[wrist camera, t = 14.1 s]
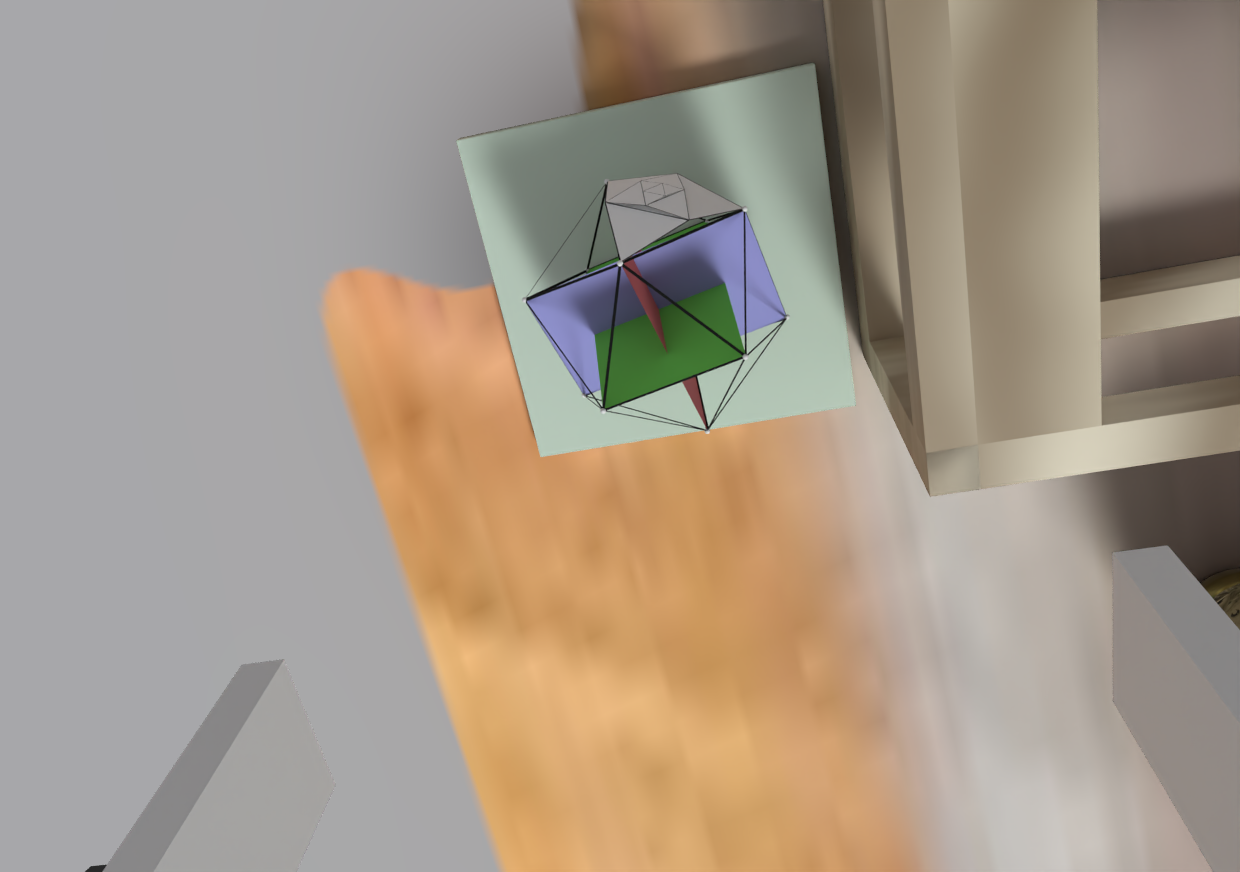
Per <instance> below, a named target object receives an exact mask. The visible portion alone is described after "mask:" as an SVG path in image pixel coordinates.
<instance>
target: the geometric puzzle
mask: <svg viewBox="0 0 1240 872" xmlns="http://www.w3.org/2000/svg"><path fill="white" fill-rule="evenodd" d="M604 183H605V185H604V186H605V189H604V193H603V198H602V202H601V207H600V211H599V216H598V220H597V224H596V229H595V233H594V238H593V242H592V247H591V251H590V256H589V260H588V265H587V268H586V269H585V270H584V271H582V272H580V273H578V274H576V275H574V276H572V277H570V278H567V279H565V280H563V281H561V282H559V283H557V284H555V285H553V286H550V287H548V288H546V289H544V290H542V291H540V292H538V293H536V294H533V295H531V296H529V297H523V298H522V301H523V302H524V303H526V304H527V306H528V307H529V309H530V310H531V312H532V314H533V315H534V317H535V318H536V320H537V322H538V323H539V325H540V326H541V328H542V330H543V331H544V333H545V334H546V336H547V337H548V339H549V341H550V342H551V344H552V345H553V347H554V349H555V350H556V352H557V353H558V355H559V357H560V358H561V360H562V361H563V363H564V365H565V366H566V368H567V369H568V371H569V372H570V374H571V376H572V377H573V379H574V380H575V382H576V384H577V385H578V387H579V388H580V390H581V392H582V397H583V398H585V397H586V398H587V397H589V396H588V395H590V394H591V395H592V396H593V397H589V398H592V399H595V400H596V402H597V403H598V405H599V406H600V407H601V408H600V407H599V406H598V405H596V404H595V403H594V402H593V401H591V400H590V399H589V398H587V399H589V400H590V401H591V402H592V403H594V404H595V405H596V406H598V407H599V408H600V409H601V410H600V412H601V413H602V414H604V413H606V412H611V413H616V414H622V413H617V412H612V411H607V410H609V409H612V408H615V407H617V406H621V405H622V404H625V403H628V402H630V401H633V400H636V399H638V398H641V397H644V396H646V395H649V394H651V393H654V392H657V391H659V390H662V389H665V388H667V387H670V386H673V385H675V384H678V383H680V382H682V383H683V385H684V387H685V388H686V390H687V392H688V394H689V396H690V398H691V400H692V402H693V404H694V406H695V408H696V410H697V411H698V413H699V415H700V417H701V419H702V421H703V423H704V425H705V428H706V429H702V428H699V427H695V426H692V425H688V424H685V423H681V422H678V421H674V420H671V419H667V418H663V417H660V416H656V415H653V414H649V413H646V412H642V411H639V410H635V409H632V408H628V407H625V406H621V407H624V408H628V409H631V410H635V411H638V412H642V413H645V414H649V415H652V416H656V417H659V418H663V419H666V420H670V421H673V422H677V423H680V424H684V425H687V426H684V425H679V424H673V423H668V422H663V421H658V420H653V419H648V418H643V417H637V416H632V415H627V414H622V415H627V416H632V417H637V418H642V419H648V420H653V421H658V422H663V423H668V424H673V425H679V426H684V427H689V426H691V427H689V428H694V429H699V430H705V433H706V434H708V433H710V430H709V429H710V427H711V426H712V424H713V423H714V422H715V420H716V419H717V417H718V416H719V414H720V413H721V412H722V410H723V409H724V407H725V406H726V404H727V403H728V402H729V400H730V399H731V397H732V396H733V395H734V393H735V392H736V390H737V389H738V387H739V386H740V385H741V383H742V382H743V380H744V379H745V377H746V376H747V375H748V373H749V372H750V370H751V369H752V368H753V366H754V365H755V363H756V362H757V360H758V359H759V358H760V356H761V355H762V353H763V352H764V351H765V349H766V348H767V346H768V345H769V343H770V342H771V341H772V339H773V338H774V336H775V335H776V333H777V332H778V331H779V329H780V328H781V326H782V325H783V324H784V322H785V321H786V319H787V320H788V319H789V318H790V316H789V315H788V314H786V313H785V310H784V308H783V305H782V303H781V300H780V298H779V295H778V292H777V290H776V287H775V285H774V282H773V280H772V277H771V274H770V272H769V269H768V267H767V264H766V262H765V259H764V257H763V254H762V251H761V249H760V246H759V244H758V241H757V239H756V236H755V233H754V231H753V228H752V226H751V223H750V221H749V218H748V215H747V213H746V211H747V207H746V206H743V207H741V206H739V205H737V204H735V203H733V202H731V201H729V200H727V199H725V198H724V197H722V196H720V195H718V194H716V193H714V192H712V191H710V190H708V189H707V188H705V187H703V186H701V185H699V184H697V183H695V182H693V181H691V180H689V179H688V178H686V177H684V176H682V175H680V174H678V173H673V174H664V175H655V176H646V177H637V178H628V179H619V180H610V181H609V179H605V180H604ZM604 186H603V187H604ZM602 189H603V188H602ZM602 189H601V190H602ZM601 190H600V191H601ZM599 193H600V192H599ZM599 193H598V194H599ZM597 196H598V195H597ZM597 196H596V197H597ZM595 199H596V198H595ZM595 199H594V200H595ZM594 200H593V201H594ZM604 200H605V206H606V210H607V214H608V218H609V222H610V225H611V229H612V233H613V237H614V241H615V245H616V249H617V253H618V257H616V258H613V259H611V260H608V261H606V262H604V263H601V264H599V265H596V266H594V267H592V268H589V266H590V261H591V257H592V253H593V248H594V244H595V239H596V235H597V231H598V226H599V222H600V217H601V213H602V209H603V204H604ZM592 203H593V202H592ZM592 203H591V204H592ZM590 206H591V205H590ZM590 206H589V207H590ZM588 209H589V208H588ZM588 209H587V210H588ZM587 210H586V212H587ZM732 211H733V212H732ZM586 212H585V213H586ZM727 212H730V213H727ZM585 213H584V214H585ZM722 213H727V214H724V215H720V216H717V217H714V218H711V219H703V217H708V216H713V215H718V214H722ZM583 216H584V215H583ZM583 216H582V217H583ZM698 218H699V219H701V220H704V221H702V222H700V223H698V224H695V225H693V226H690V227H688V228H685V229H683V230H681V231H678V232H676V233H673V234H671V235H669V236H666V237H664V236H665V235H667V234H668V233H670V232H672V231H673V230H675V229H676V228H678V227H680V226H681V225H683V224H685V223H686V222H688V221H689V220H694V219H698ZM718 218H719V219H718ZM581 219H582V218H581ZM581 219H580V220H581ZM714 219H717V220H714ZM711 220H714V221H712V222H710V221H711ZM579 222H580V221H579ZM579 222H578V223H579ZM578 223H577V224H578ZM576 226H577V225H576ZM576 226H575V227H576ZM574 229H575V228H574ZM574 229H573V230H574ZM572 232H573V231H572ZM572 232H571V233H572ZM571 233H570V235H571ZM570 235H569V236H570ZM569 236H568V237H569ZM662 237H664V238H662ZM660 238H661V239H660ZM567 239H568V238H567ZM567 239H566V240H567ZM565 242H566V241H565ZM565 242H564V243H565ZM563 245H564V244H563ZM563 245H562V246H563ZM562 246H561V247H562ZM560 249H561V248H560ZM560 249H559V250H560ZM558 252H559V251H558ZM558 252H557V253H558ZM556 255H557V254H556ZM556 255H555V256H556ZM555 256H554V257H555ZM553 259H554V258H553ZM553 259H552V260H553ZM551 262H552V261H551ZM551 262H550V263H551ZM549 265H550V264H549ZM549 265H548V266H549ZM548 266H547V268H548ZM547 268H546V269H547ZM546 269H545V270H546ZM544 272H545V271H544ZM544 272H543V273H544ZM584 273H586V275H584V276H581V277H579V278H576V277H578V276H580V275H582V274H584ZM542 275H543V274H542ZM542 275H541V276H542ZM540 278H541V277H540ZM540 278H539V279H540ZM574 278H576V279H574ZM539 279H538V280H539ZM572 279H574V280H572ZM570 280H572V281H570ZM567 281H569V282H567ZM537 282H538V281H537ZM537 282H536V283H537ZM565 282H567V283H565ZM563 283H564V284H563ZM561 284H562V285H561ZM535 285H536V284H535ZM535 285H534V286H535ZM533 288H534V287H533ZM533 288H532V289H533ZM532 289H531V290H532ZM530 292H531V291H530ZM530 292H529V293H530ZM528 295H529V294H528ZM528 295H527V296H528ZM780 321H782V322H781V323H780V324H779V325H778V326H777V327H776V328H775V329H774V330H772V331H771V332H770V333H769V334H768V335H767V336H766V337H765V338H764V339H763V340H762V341H761V342H760V343H759V344H758V345H756V346H755V347H754V348H753V349H752V350H751V351H750V352H749V353H748V354H747V333H750V332H752V331H755V330H757V329H760V328H763V327H765V326H768V325H770V324H773V323H777V322H780ZM780 325H781V326H780ZM779 326H780V327H779ZM778 327H779V328H778ZM777 328H778V330H777V331H776V333H775V334H774V335H773V337H772V338H771V340H770V341H769V343H768V344H767V345H766V347H765V348H764V350H763V351H762V353H761V354H760V355H759V357H758V358H757V360H756V361H755V362H754V364H753V365H752V367H751V368H750V370H749V371H748V372H747V374H746V375H745V377H744V378H743V380H742V381H741V382H740V384H739V385H738V387H737V388H736V389H735V391H734V392H733V394H732V395H731V397H730V398H729V399H728V401H727V402H726V404H725V405H724V407H723V408H722V409H721V411H720V412H719V414H718V415H717V413H718V411H719V409H720V407H721V405H722V403H723V401H724V399H725V397H726V396H727V394H728V392H729V390H730V388H731V386H732V384H733V382H734V380H735V378H736V376H737V374H738V372H739V370H740V369H741V367H742V365H743V363H744V361H745V360H747V359H748V357H749V356H748V355H749V354H750V353H751V352H752V351H753V350H755V349H756V348H757V347H758V346H759V345H760V344H761V343H762V342H763V341H764V340H765V339H766V338H767V337H768V336H769V335H770V334H772V333H773V332H774V331H775V330H776V329H777ZM744 334H745V350H744V347H743V343H742V340H741V336H742V335H744ZM741 359H743V361H742V363H741V365H740V367H739V369H738V371H737V373H736V374H735V376H734V378H733V380H732V382H731V384H730V386H729V388H728V390H727V392H726V394H725V396H724V398H723V400H722V402H721V404H720V406H719V407H718V409H717V411H716V413H715V415H714V417H713V419H712V421H711V423H710V425H709V426H708V422H707V417H706V413H705V408H704V404H703V400H702V395H701V391H700V386H699V382H698V377H697V376H699V375H702V374H704V373H707V372H709V371H712V370H715V369H717V368H720V367H723V366H725V365H728V364H731V363H733V362H736V361H738V360H741ZM599 390H601V397H602V400H600V399H596V398H595V396H594V395H593V394H592V393H594V392H596V391H599ZM597 400H599V401H602V406H601V405H600V403H599V402H598V401H597ZM716 415H717V416H716ZM715 417H716V418H715Z"/></svg>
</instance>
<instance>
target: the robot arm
mask: <svg viewBox="0 0 1240 872" xmlns="http://www.w3.org/2000/svg"><path fill="white" fill-rule="evenodd" d="M1113 702H1114V704H1115V706H1116V707H1117V709H1118V711H1119V712H1120V714H1121V716H1122V718H1123V719H1124V721H1125V723H1126V724H1127V726H1128V728H1129V729H1130V731H1131V733H1132V735H1133V736H1134V738H1135V740H1136V741H1137V743H1138V745H1139V747H1140V748H1141V750H1142V752H1143V753H1144V755H1145V757H1146V758H1147V760H1148V762H1149V764H1150V765H1151V767H1152V769H1153V770H1154V772H1155V774H1156V775H1157V777H1158V779H1159V781H1160V782H1161V784H1162V786H1163V787H1164V789H1165V791H1166V792H1167V794H1168V796H1169V798H1170V799H1171V801H1172V803H1173V804H1174V806H1175V808H1176V809H1177V811H1178V813H1179V815H1180V816H1181V818H1182V820H1183V821H1184V823H1185V825H1186V826H1187V828H1188V830H1189V832H1190V833H1191V835H1192V837H1193V838H1194V840H1195V842H1196V843H1197V845H1198V847H1199V849H1200V850H1201V852H1202V854H1203V855H1204V857H1205V859H1206V860H1207V862H1208V864H1209V866H1210V867H1211V869H1212V871H1213V872H1240V630H1239V629H1238V627H1237V626H1236V625H1235V624H1234V623H1233V621H1232V620H1231V619H1230V618H1229V617H1228V616H1227V614H1226V613H1225V612H1224V611H1223V610H1222V609H1221V607H1220V606H1219V605H1218V604H1217V603H1216V602H1215V600H1214V599H1213V598H1212V597H1211V596H1210V594H1209V593H1208V592H1207V591H1206V590H1205V589H1204V587H1203V586H1202V585H1201V584H1200V583H1199V582H1198V580H1197V579H1196V578H1195V577H1194V576H1193V575H1192V573H1191V572H1190V571H1189V570H1188V569H1187V567H1186V566H1185V565H1184V564H1183V563H1182V562H1181V560H1180V559H1179V558H1178V557H1177V556H1176V555H1175V553H1174V552H1173V551H1172V550H1171V549H1170V548H1169V546H1168V545H1167V546H1159V547H1151V548H1144V549H1136V550H1128V551H1120V552H1113ZM335 786H336V784H335V782H334V779H333V777H332V775H331V772H330V770H329V767H328V765H327V763H326V760H325V758H324V755H323V753H322V750H321V748H320V745H319V743H318V740H317V738H316V736H315V733H314V731H313V729H312V726H311V723H310V721H309V719H308V716H307V714H306V711H305V709H304V706H303V704H302V701H301V699H300V697H299V694H298V692H297V689H296V687H295V684H294V682H293V680H292V677H291V675H290V672H289V670H288V667H287V665H286V663H285V660H284V659H282V660H276V661H267V662H260V663H252V664H244V665H241V667H240V668H239V670H238V671H237V673H236V674H235V676H234V677H233V678H232V680H231V681H230V683H229V685H228V686H227V687H226V689H225V690H224V692H223V693H222V695H221V696H220V698H219V699H218V701H217V702H216V704H215V706H214V707H213V708H212V710H211V711H210V713H209V714H208V716H207V717H206V719H205V720H204V722H203V723H202V725H201V726H200V728H199V729H198V730H197V732H196V734H195V735H194V737H193V738H192V739H191V741H190V742H189V744H188V746H187V747H186V748H185V750H184V751H183V753H182V754H181V756H180V757H179V759H178V760H177V762H176V763H175V765H174V766H173V768H172V769H171V771H170V772H169V774H168V775H167V777H166V778H165V780H164V781H163V783H162V784H161V785H160V787H159V788H158V790H157V792H156V793H155V795H154V796H153V797H152V799H151V800H150V802H149V803H148V805H147V806H146V808H145V810H144V811H143V812H142V814H141V815H140V817H139V818H138V820H137V821H136V823H135V824H134V826H133V827H132V829H131V830H130V832H129V833H128V835H127V836H126V838H125V839H124V841H123V842H122V843H121V845H120V846H119V848H118V850H117V851H116V852H115V854H114V855H113V857H112V859H111V860H110V861H109V863H108V864H107V865H99V866H91V867H90V868H89V869H87V870H86V871H85V872H297V870H298V867H299V865H300V863H301V861H302V859H303V856H304V854H305V852H306V850H307V847H308V845H309V843H310V841H311V839H312V837H313V834H314V832H315V830H316V828H317V825H318V823H319V821H320V819H321V817H322V814H323V812H324V810H325V808H326V806H327V803H328V801H329V799H330V797H331V794H332V792H333V790H334V788H335Z"/></svg>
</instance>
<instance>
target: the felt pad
mask: <svg viewBox="0 0 1240 872" xmlns="http://www.w3.org/2000/svg"><path fill="white" fill-rule="evenodd" d="M456 142H457V146H458V150H459V153H460V157H461V160H462V165H463V168H464V172H465V176H466V180H467V183H468V187H469V191H470V195H471V198H472V202H473V206H474V210H475V213H476V217H477V221H478V225H479V228H480V232H481V235H482V239H483V243H484V247H485V251H486V254H487V258H488V262H489V266H490V269H491V273H492V277H493V281H494V284H495V288H496V292H497V296H498V299H499V303H500V307H501V311H502V314H503V318H504V322H505V325H506V329H507V333H508V337H509V340H510V344H511V348H512V352H513V355H514V359H515V363H516V367H517V370H518V374H519V378H520V382H521V385H522V389H523V393H524V397H525V400H526V404H527V408H528V411H529V415H530V419H531V423H532V426H533V430H534V434H535V438H536V441H537V445H538V449H539V453H540V456H541V457H544V456H550V455H556V454H562V453H568V452H575V451H581V450H587V449H593V448H599V447H605V446H611V445H617V444H623V443H630V442H636V441H642V440H648V439H654V438H660V437H666V436H672V435H679V434H685V433H691V432H697V431H703V430H699V429H694V428H689V427H691V426H689V427H684V426H687V425H684V424H680V423H677V422H673V421H670V420H666V419H663V418H667V419H671V420H674V421H678V422H681V423H685V424H688V425H692V426H695V427H699V428H702V429H706V428H705V425H704V423H703V421H702V419H701V417H700V415H699V413H698V411H697V410H696V408H695V406H694V404H693V402H692V400H691V398H690V396H689V394H688V392H687V390H686V388H685V387H684V385H683V383H682V382H680V383H678V384H675V385H673V386H670V387H667V388H665V389H662V390H659V391H657V392H654V393H651V394H649V395H646V396H644V397H641V398H638V399H636V400H633V401H630V402H628V403H625V404H622V405H621V406H625V407H628V408H632V409H635V410H639V411H642V412H646V413H649V414H653V415H656V416H660V417H663V418H659V417H656V416H652V415H649V414H645V413H642V412H638V411H635V410H631V409H628V408H624V407H621V406H617V407H615V408H612V409H609V410H607V411H612V412H617V413H622V414H627V415H632V416H637V417H643V418H648V419H653V420H658V421H663V422H668V423H673V424H679V425H684V426H679V425H673V424H668V423H663V422H658V421H653V420H648V419H642V418H637V417H632V416H627V415H622V414H616V413H611V412H606V413H604V414H602V413H601V412H600V410H601V409H600V408H601V407H600V406H599V405H598V403H597V402H596V400H595V399H592V398H589V397H593V396H592V395H591V394H590V395H588V396H589V397H587V398H589V399H590V400H591V401H593V402H594V403H595V404H596V405H598V406H599V407H600V408H599V407H598V406H596V405H595V404H594V403H592V402H591V401H590V400H589V399H587V398H586V397H585V398H583V397H582V392H581V390H580V388H579V387H578V385H577V384H576V382H575V380H574V379H573V377H572V376H571V374H570V372H569V371H568V369H567V368H566V366H565V365H564V363H563V361H562V360H561V358H560V357H559V355H558V353H557V352H556V350H555V349H554V347H553V345H552V344H551V342H550V341H549V339H548V337H547V336H546V334H545V333H544V331H543V330H542V328H541V326H540V325H539V323H538V322H537V320H536V318H535V317H534V315H533V314H532V312H531V310H530V309H529V307H528V306H527V304H526V303H524V302H523V301H522V298H523V297H529V296H531V295H533V294H536V293H538V292H540V291H542V290H544V289H546V288H548V287H550V286H553V285H555V284H557V283H559V282H561V281H563V280H565V279H567V278H570V277H572V276H574V275H576V274H578V273H580V272H582V271H584V270H585V269H586V268H587V265H588V260H589V256H590V251H591V247H592V242H593V238H594V233H595V229H596V224H597V220H598V216H599V211H600V207H601V202H602V198H603V193H604V189H605V186H604V185H605V183H604V180H605V179H609V181H610V180H619V179H628V178H637V177H646V176H655V175H664V174H673V173H678V174H680V175H682V176H684V177H686V178H688V179H689V180H691V181H693V182H695V183H697V184H699V185H701V186H703V187H705V188H707V189H708V190H710V191H712V192H714V193H716V194H718V195H720V196H722V197H724V198H725V199H727V200H729V201H731V202H733V203H735V204H737V205H739V206H741V207H743V206H746V207H747V211H746V213H747V215H748V218H749V221H750V223H751V226H752V228H753V231H754V233H755V236H756V239H757V241H758V244H759V246H760V249H761V251H762V254H763V257H764V259H765V262H766V264H767V267H768V269H769V272H770V274H771V277H772V280H773V282H774V285H775V287H776V290H777V292H778V295H779V298H780V300H781V303H782V305H783V308H784V310H785V313H786V314H788V315H789V316H790V318H789V319H788V320H787V319H786V321H785V322H784V324H783V325H782V326H781V325H780V326H781V328H780V329H779V331H778V332H777V333H776V331H777V330H778V328H779V327H780V326H779V327H778V328H777V329H776V330H775V331H774V332H773V333H772V334H770V335H769V336H768V337H767V338H766V339H765V340H764V341H763V342H762V343H761V344H760V345H759V346H758V347H757V348H756V349H755V350H753V351H752V352H751V353H750V354H749V355H748V356H749V357H748V359H747V360H745V361H744V363H743V365H742V367H741V369H740V370H739V372H738V374H737V376H736V378H735V380H734V382H733V384H732V386H731V388H730V390H729V392H728V394H727V396H726V397H725V399H724V401H723V403H722V405H721V407H720V409H719V411H718V413H717V415H718V414H719V412H720V411H721V409H722V408H723V407H724V405H725V404H726V402H727V401H728V399H729V398H730V397H731V395H732V394H733V392H734V391H735V389H736V388H737V387H738V385H739V384H740V382H741V381H742V380H743V378H744V377H745V375H746V374H747V372H748V371H749V370H750V368H751V367H752V365H753V364H754V362H755V361H756V360H757V358H758V357H759V355H760V354H761V353H762V351H763V350H764V348H765V347H766V345H767V344H768V343H769V341H770V340H771V338H772V337H773V335H774V334H775V333H776V335H775V336H774V338H773V339H772V341H771V342H770V343H769V345H768V346H767V348H766V349H765V351H764V352H763V353H762V355H761V356H760V358H759V359H758V360H757V362H756V363H755V365H754V366H753V368H752V369H751V370H750V372H749V373H748V375H747V376H746V377H745V379H744V380H743V382H742V383H741V385H740V386H739V387H738V389H737V390H736V392H735V393H734V395H733V396H732V397H731V399H730V400H729V402H728V403H727V404H726V406H725V407H724V409H723V410H722V412H721V413H720V414H719V416H718V417H717V419H716V420H715V422H714V423H713V424H712V426H711V427H710V429H715V428H721V427H727V426H734V425H740V424H746V423H752V422H758V421H764V420H770V419H776V418H783V417H789V416H795V415H801V414H807V413H813V412H819V411H825V410H831V409H838V408H844V407H850V406H856V402H855V394H854V385H853V377H852V369H851V361H850V352H849V344H848V336H847V327H846V319H845V311H844V302H843V294H842V286H841V277H840V269H839V261H838V252H837V244H836V236H835V228H834V219H833V211H832V203H831V194H830V186H829V178H828V169H827V161H826V153H825V144H824V136H823V128H822V120H821V111H820V103H819V95H818V86H817V78H816V70H815V64H814V63H809V64H805V65H800V66H795V67H791V68H786V69H781V70H776V71H772V72H767V73H762V74H758V75H753V76H748V77H744V78H739V79H734V80H730V81H725V82H720V83H716V84H711V85H706V86H702V87H697V88H692V89H688V90H683V91H678V92H673V93H669V94H664V95H659V96H655V97H650V98H645V99H641V100H636V101H631V102H627V103H622V104H617V105H613V106H608V107H603V108H599V109H594V110H589V111H584V112H580V113H575V114H571V115H566V116H561V117H557V118H552V119H547V120H543V121H538V122H533V123H528V124H524V125H519V126H514V127H510V128H505V129H500V130H496V131H491V132H486V133H481V134H477V135H472V136H467V137H463V138H460V139H458V140H457V141H456ZM603 186H604V187H603ZM602 188H603V189H602ZM601 189H602V190H601ZM600 190H601V191H600ZM599 192H600V193H599ZM598 193H599V194H598ZM597 195H598V196H597ZM596 196H597V197H596ZM595 198H596V199H595ZM594 199H595V200H594ZM593 200H594V201H593ZM592 202H593V203H592ZM591 203H592V204H591ZM590 205H591V206H590ZM589 206H590V207H589ZM588 208H589V209H588ZM587 209H588V210H587ZM586 210H587V212H586ZM585 212H586V213H585ZM732 212H733V211H732ZM584 213H585V214H584ZM727 213H730V212H727ZM727 213H722V214H718V215H713V216H708V217H703V219H711V218H714V217H717V216H720V215H724V214H727ZM583 215H584V216H583ZM582 216H583V217H582ZM581 218H582V219H581ZM580 219H581V220H580ZM718 219H719V218H718ZM714 220H717V219H714ZM714 220H711V221H710V222H712V221H714ZM579 221H580V222H579ZM702 221H704V220H701V219H699V218H698V219H694V220H689V221H688V222H686V223H685V224H683V225H681V226H680V227H678V228H676V229H675V230H673V231H672V232H670V233H668V234H667V235H665V236H664V237H666V236H669V235H671V234H673V233H676V232H678V231H681V230H683V229H685V228H688V227H690V226H693V225H695V224H698V223H700V222H702ZM578 222H579V223H578ZM577 223H578V224H577ZM576 225H577V226H576ZM575 226H576V227H575ZM574 228H575V229H574ZM573 229H574V230H573ZM572 231H573V232H572ZM571 232H572V233H571ZM570 233H571V235H570ZM569 235H570V236H569ZM568 236H569V237H568ZM664 237H662V238H664ZM567 238H568V239H567ZM566 239H567V240H566ZM660 239H661V238H660ZM565 241H566V242H565ZM564 242H565V243H564ZM563 244H564V245H563ZM562 245H563V246H562ZM561 246H562V247H561ZM560 248H561V249H560ZM559 249H560V250H559ZM558 251H559V252H558ZM557 252H558V253H557ZM556 254H557V255H556ZM555 255H556V256H555ZM554 256H555V257H554ZM616 257H618V253H617V249H616V245H615V241H614V237H613V233H612V229H611V225H610V222H609V218H608V214H607V210H606V206H605V200H604V204H603V209H602V213H601V217H600V222H599V226H598V231H597V235H596V239H595V244H594V248H593V253H592V257H591V261H590V266H589V268H592V267H594V266H596V265H599V264H601V263H604V262H606V261H608V260H611V259H613V258H616ZM553 258H554V259H553ZM552 259H553V260H552ZM551 261H552V262H551ZM550 262H551V263H550ZM549 264H550V265H549ZM548 265H549V266H548ZM547 266H548V268H547ZM546 268H547V269H546ZM545 269H546V270H545ZM544 271H545V272H544ZM543 272H544V273H543ZM542 274H543V275H542ZM541 275H542V276H541ZM584 275H586V273H584V274H582V275H580V276H578V277H576V278H579V277H581V276H584ZM540 277H541V278H540ZM539 278H540V279H539ZM576 278H574V279H576ZM538 279H539V280H538ZM574 279H572V280H574ZM572 280H570V281H572ZM537 281H538V282H537ZM536 282H537V283H536ZM567 282H569V281H567ZM567 282H565V283H567ZM535 284H536V285H535ZM563 284H564V283H563ZM534 285H535V286H534ZM561 285H562V284H561ZM533 287H534V288H533ZM532 288H533V289H532ZM531 289H532V290H531ZM530 291H531V292H530ZM529 292H530V293H529ZM528 294H529V295H528ZM527 295H528V296H527ZM781 322H782V321H780V322H777V323H773V324H770V325H768V326H765V327H763V328H760V329H757V330H755V331H752V332H750V333H747V354H748V353H749V352H750V351H751V350H752V349H753V348H754V347H755V346H756V345H758V344H759V343H760V342H761V341H762V340H763V339H764V338H765V337H766V336H767V335H768V334H769V333H770V332H771V331H772V330H774V329H775V328H776V327H777V326H778V325H779V324H780V323H781ZM741 340H742V343H743V347H744V350H745V334H744V335H742V336H741ZM742 361H743V359H741V360H738V361H736V362H733V363H731V364H728V365H725V366H723V367H720V368H717V369H715V370H712V371H709V372H707V373H704V374H702V375H699V376H697V377H698V382H699V386H700V391H701V395H702V400H703V404H704V408H705V413H706V417H707V422H708V426H709V425H710V423H711V421H712V419H713V417H714V415H715V413H716V411H717V409H718V407H719V406H720V404H721V402H722V400H723V398H724V396H725V394H726V392H727V390H728V388H729V386H730V384H731V382H732V380H733V378H734V376H735V374H736V373H737V371H738V369H739V367H740V365H741V363H742ZM592 394H593V395H594V396H595V398H596V399H600V400H602V397H601V390H599V391H596V392H594V393H592ZM597 401H598V402H599V403H600V405H601V406H602V401H599V400H597ZM717 415H716V416H717ZM715 418H716V417H715Z"/></svg>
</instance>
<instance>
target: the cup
mask: <svg viewBox="0 0 1240 872" xmlns="http://www.w3.org/2000/svg"><path fill="white" fill-rule="evenodd" d="M1200 584H1201V585H1202V586H1203V587H1204V589H1205V590H1206V591H1207V592H1208V593H1209V594H1210V596H1211V597H1212V598H1213V599H1214V600H1215V602H1216V603H1217V604H1218V605H1219V606H1220V607H1221V609H1222V610H1223V611H1224V612H1225V613H1226V614H1227V616H1228V617H1229V618H1230V619H1231V620H1232V621H1233V623H1234V624H1235V625H1236V626H1237V627H1238V629H1239V630H1240V568H1235V569H1229V570H1225V571H1222V572H1219V573H1217V574H1214V575H1212V576H1210V577H1209V578H1207V579H1206V580H1204V581H1203V582H1202V583H1200Z"/></svg>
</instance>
